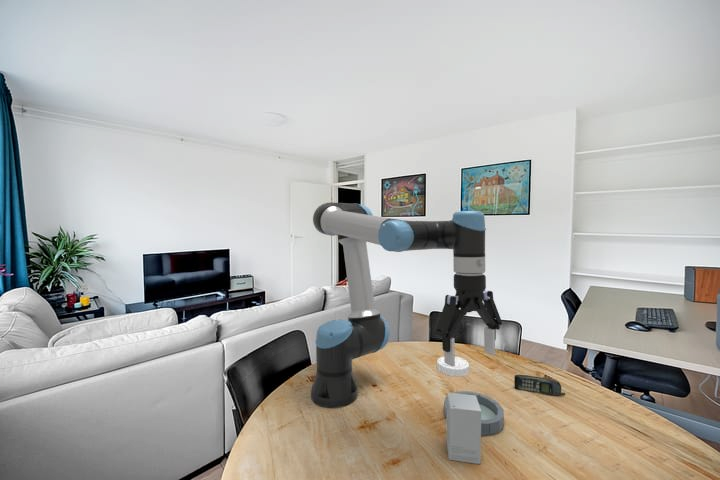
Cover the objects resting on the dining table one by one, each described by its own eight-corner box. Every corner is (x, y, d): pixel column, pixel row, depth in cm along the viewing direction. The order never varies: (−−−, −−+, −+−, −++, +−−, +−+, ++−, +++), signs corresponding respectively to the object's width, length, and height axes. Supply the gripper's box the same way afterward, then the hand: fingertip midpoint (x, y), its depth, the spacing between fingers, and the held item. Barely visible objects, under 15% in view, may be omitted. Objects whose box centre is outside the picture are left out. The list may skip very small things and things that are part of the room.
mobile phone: (514, 376, 104) (566, 383, 98) (513, 372, 107) (564, 378, 101) (514, 391, 104) (566, 398, 99) (513, 386, 107) (564, 393, 101)
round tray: (433, 407, 93) (433, 397, 93) (475, 397, 99) (475, 387, 99) (470, 441, 79) (470, 429, 78) (516, 427, 84) (517, 415, 84)
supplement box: (481, 465, 71) (482, 411, 70) (448, 460, 72) (448, 407, 72) (476, 443, 78) (476, 394, 78) (445, 439, 80) (446, 391, 79)
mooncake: (434, 362, 125) (434, 354, 125) (463, 363, 125) (464, 354, 125) (440, 377, 113) (440, 367, 113) (473, 377, 113) (473, 368, 113)
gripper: (440, 279, 67) (442, 375, 68) (516, 271, 78) (517, 354, 79) (419, 275, 74) (420, 363, 74) (492, 268, 85) (492, 345, 85)
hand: (470, 358), depth 76 cm, fingers open, 13 cm apart
